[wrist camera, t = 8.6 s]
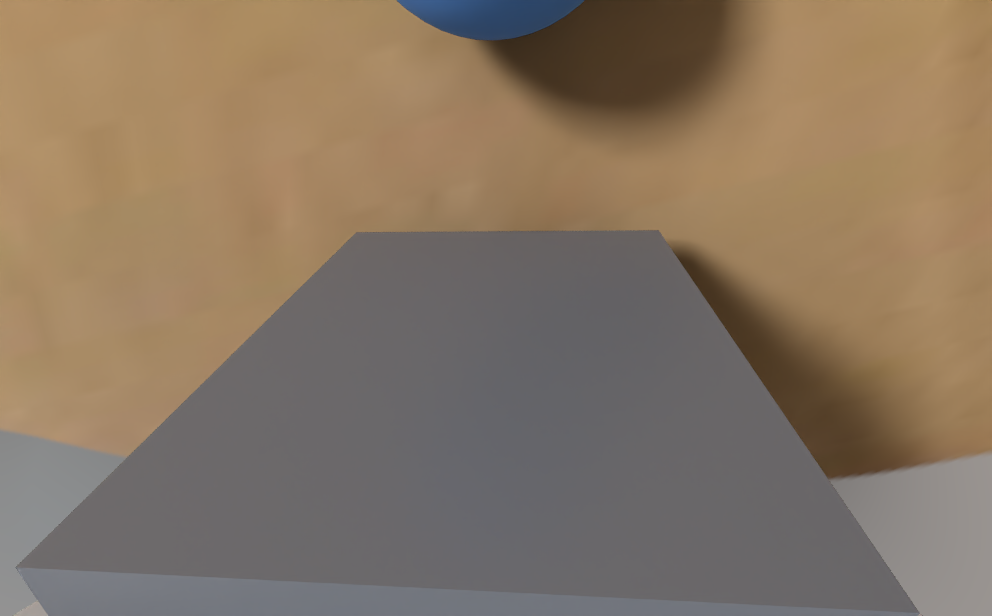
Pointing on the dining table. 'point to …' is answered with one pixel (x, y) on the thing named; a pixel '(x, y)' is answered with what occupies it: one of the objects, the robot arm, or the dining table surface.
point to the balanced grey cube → (474, 455)
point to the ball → (490, 16)
